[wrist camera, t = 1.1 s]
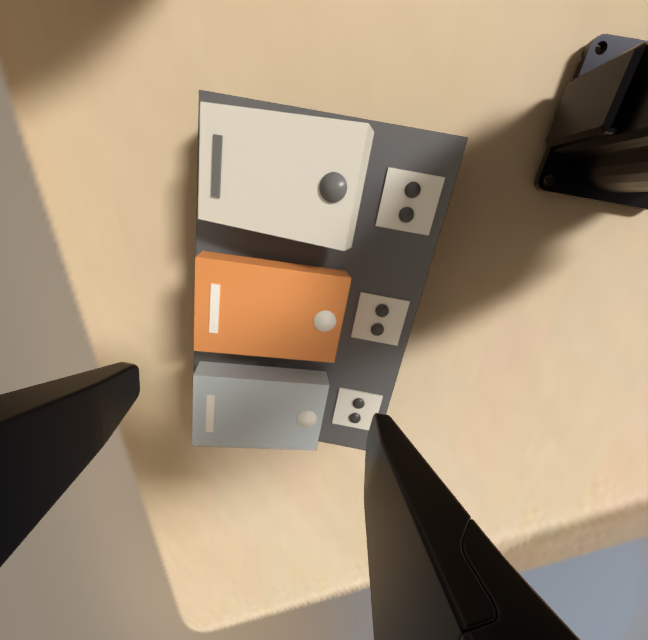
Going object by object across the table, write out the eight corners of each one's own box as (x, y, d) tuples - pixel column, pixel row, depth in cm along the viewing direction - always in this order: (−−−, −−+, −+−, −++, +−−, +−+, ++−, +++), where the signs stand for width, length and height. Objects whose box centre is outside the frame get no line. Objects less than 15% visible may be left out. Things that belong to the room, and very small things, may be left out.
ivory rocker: (374, 132, 13) (368, 122, 11) (351, 247, 14) (343, 251, 13) (220, 111, 14) (198, 100, 13) (216, 218, 16) (196, 218, 14)
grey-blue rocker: (326, 371, 18) (329, 386, 17) (314, 433, 20) (316, 451, 19) (199, 361, 17) (192, 376, 16) (198, 428, 19) (191, 447, 17)
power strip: (448, 147, 17) (472, 134, 13) (372, 421, 23) (375, 459, 20) (224, 107, 17) (192, 85, 13) (212, 390, 23) (188, 422, 20)
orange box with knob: (346, 270, 16) (352, 278, 15) (330, 349, 18) (334, 363, 17) (202, 250, 15) (194, 257, 14) (200, 337, 17) (193, 351, 15)
